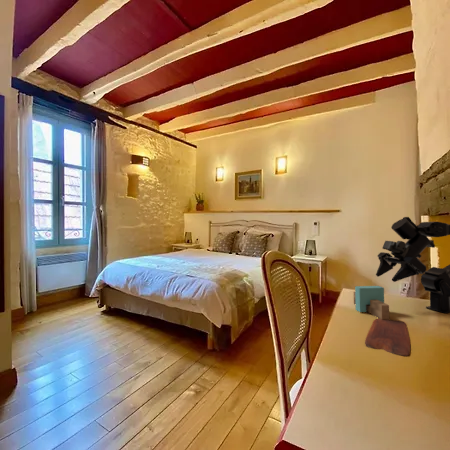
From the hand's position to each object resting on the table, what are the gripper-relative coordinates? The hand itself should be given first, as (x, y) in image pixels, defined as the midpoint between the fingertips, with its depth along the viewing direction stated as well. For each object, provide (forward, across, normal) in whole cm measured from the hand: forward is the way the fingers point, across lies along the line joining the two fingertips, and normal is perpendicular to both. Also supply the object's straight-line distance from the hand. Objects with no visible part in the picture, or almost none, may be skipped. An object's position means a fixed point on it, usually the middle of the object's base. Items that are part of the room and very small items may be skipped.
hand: (384, 278), depth 93 cm
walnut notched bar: (+13, 0, +4) cm, 13 cm away
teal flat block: (+13, 0, +4) cm, 13 cm away
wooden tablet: (+17, +19, +1) cm, 26 cm away
